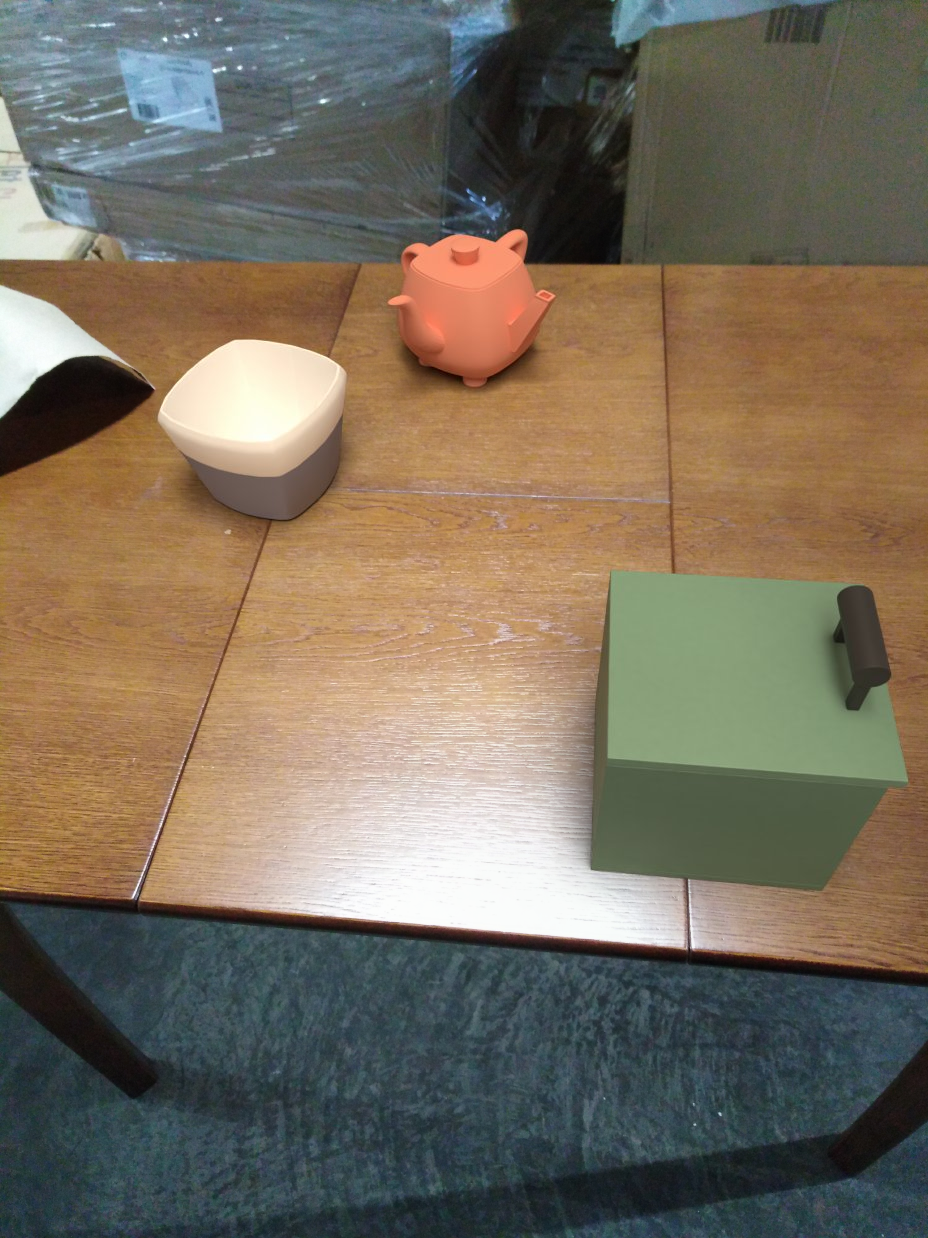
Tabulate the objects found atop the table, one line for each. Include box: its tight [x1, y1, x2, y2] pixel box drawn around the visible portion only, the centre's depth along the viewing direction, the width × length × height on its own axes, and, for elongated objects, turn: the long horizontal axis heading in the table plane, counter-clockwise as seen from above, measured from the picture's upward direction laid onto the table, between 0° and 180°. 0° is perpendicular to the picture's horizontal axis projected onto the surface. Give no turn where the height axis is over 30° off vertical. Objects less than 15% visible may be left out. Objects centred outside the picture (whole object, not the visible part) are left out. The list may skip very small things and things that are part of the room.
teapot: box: [387, 228, 557, 388], centre depth 97 cm, size 16×17×14 cm
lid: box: [606, 569, 909, 789], centre depth 53 cm, size 16×15×5 cm
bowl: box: [157, 339, 348, 521], centre depth 86 cm, size 15×15×11 cm
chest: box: [590, 579, 890, 892], centre depth 61 cm, size 16×15×14 cm
